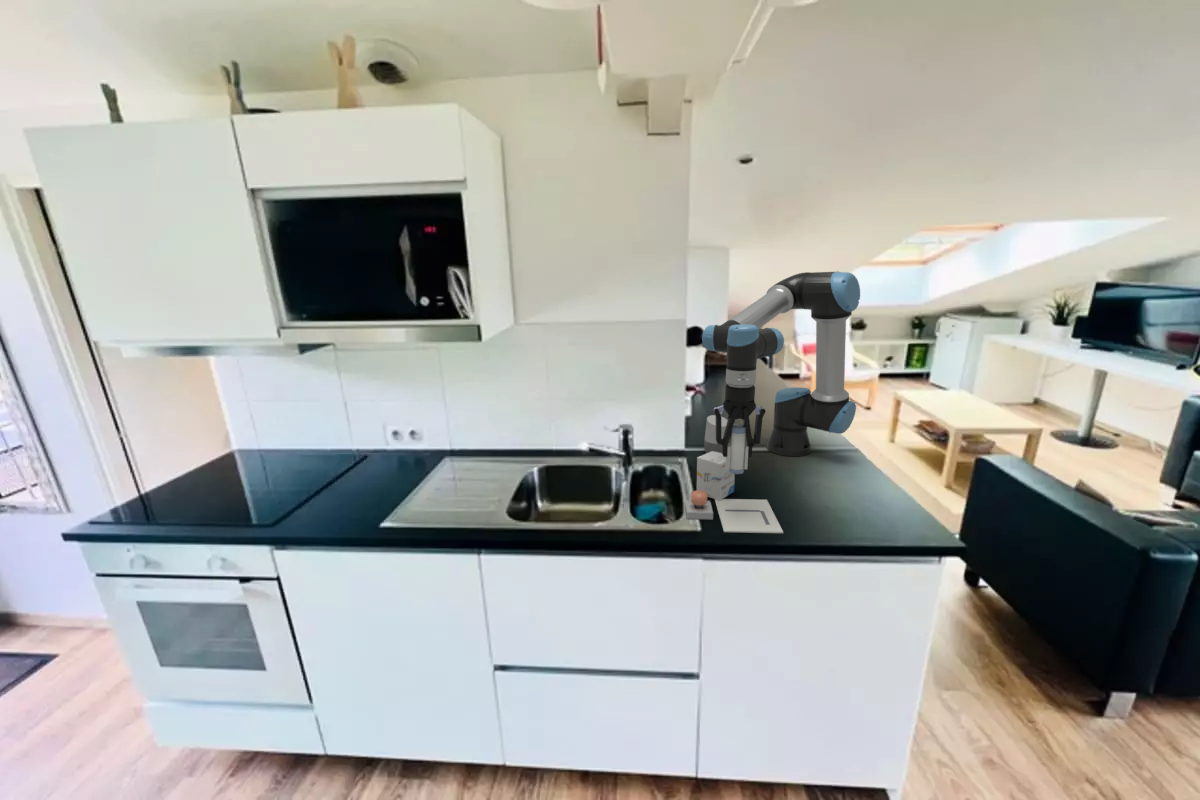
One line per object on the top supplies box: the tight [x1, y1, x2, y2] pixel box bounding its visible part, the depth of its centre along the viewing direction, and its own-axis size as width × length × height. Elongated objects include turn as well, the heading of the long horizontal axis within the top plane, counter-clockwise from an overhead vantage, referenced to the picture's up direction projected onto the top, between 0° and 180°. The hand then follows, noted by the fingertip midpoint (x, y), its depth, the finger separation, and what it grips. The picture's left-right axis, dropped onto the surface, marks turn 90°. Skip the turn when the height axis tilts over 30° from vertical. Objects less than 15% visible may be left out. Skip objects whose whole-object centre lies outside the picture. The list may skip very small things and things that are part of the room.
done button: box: [690, 489, 708, 509], centre depth 136 cm, size 4×4×4 cm
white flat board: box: [714, 498, 784, 534], centre depth 134 cm, size 18×15×1 cm
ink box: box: [696, 451, 736, 500], centre depth 147 cm, size 9×8×12 cm
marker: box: [729, 423, 746, 475], centre depth 131 cm, size 4×4×13 cm
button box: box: [684, 500, 714, 520], centre depth 136 cm, size 7×7×2 cm
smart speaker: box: [703, 414, 730, 454], centre depth 177 cm, size 10×9×14 cm
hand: (736, 467), depth 133 cm, fingers closed on marker, 4 cm apart
